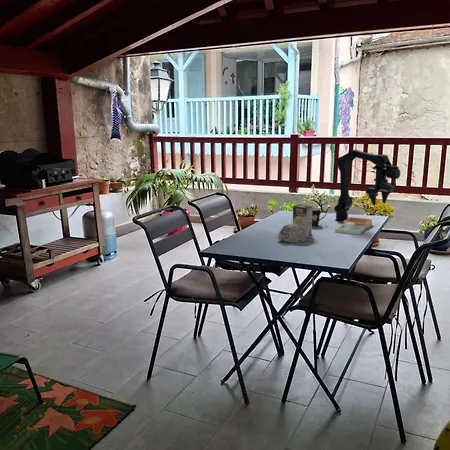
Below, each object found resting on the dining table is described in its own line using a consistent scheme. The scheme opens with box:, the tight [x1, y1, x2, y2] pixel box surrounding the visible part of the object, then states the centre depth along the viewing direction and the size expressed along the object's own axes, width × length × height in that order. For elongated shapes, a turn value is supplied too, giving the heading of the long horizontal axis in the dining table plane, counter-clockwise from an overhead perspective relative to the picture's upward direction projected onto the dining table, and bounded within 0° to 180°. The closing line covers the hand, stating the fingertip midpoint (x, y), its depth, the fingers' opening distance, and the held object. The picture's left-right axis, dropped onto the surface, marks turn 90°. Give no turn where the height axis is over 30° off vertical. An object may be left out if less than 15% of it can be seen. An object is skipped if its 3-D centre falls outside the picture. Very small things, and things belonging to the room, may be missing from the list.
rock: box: [277, 223, 308, 244], centre depth 241 cm, size 16×8×10 cm, turn 61°
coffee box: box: [292, 204, 313, 238], centre depth 253 cm, size 9×6×16 cm
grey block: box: [345, 222, 356, 230], centre depth 258 cm, size 4×4×4 cm
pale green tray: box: [334, 223, 366, 235], centre depth 258 cm, size 13×12×2 cm
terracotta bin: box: [343, 216, 373, 230], centre depth 269 cm, size 13×12×4 cm
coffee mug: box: [312, 207, 327, 228], centre depth 274 cm, size 12×9×10 cm
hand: (379, 204), depth 265 cm, fingers open, 9 cm apart
